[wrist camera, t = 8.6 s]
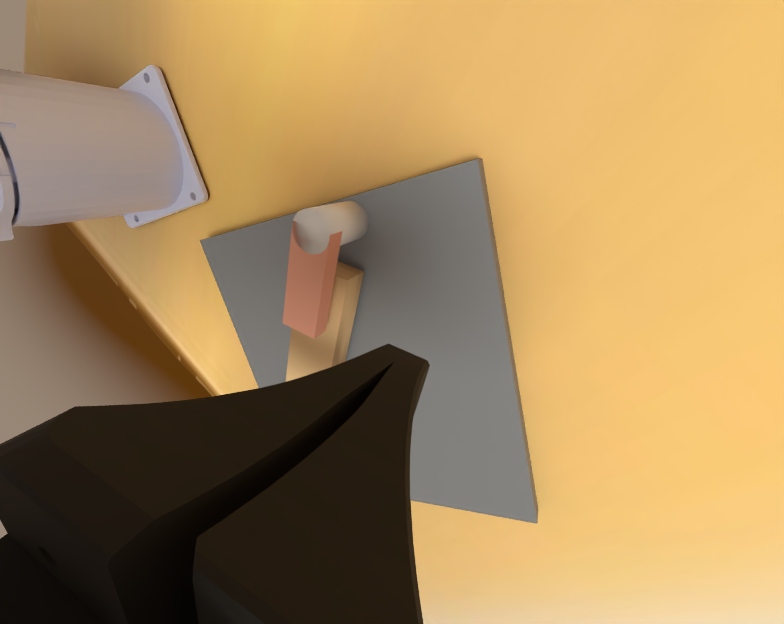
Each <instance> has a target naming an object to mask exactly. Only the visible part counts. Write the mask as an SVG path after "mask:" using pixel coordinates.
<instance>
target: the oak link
mask: <svg viewBox="0 0 784 624" xmlns="http://www.w3.org/2000/svg"><path fill="white" fill-rule="evenodd" d="M363 274H364V271H361V270H359V269H357V268H354V267H352V266H349V265H347V264H344V263H342V262H340V261H337V266H336V272H335V278H334V284H333V290H332V296H331V302H330V307H329V313H328V319H327V325H326V331H325V332H323V333H322V334H321V335H319V336H318V337H316V338H315V339H313V338H311V337H309V336H307V335H305V334H303V333H301V332H299V331H297V330H295V329H293V328H291V336H290V346H289V355H288V364H287V373H286V382H287V381H290V380H294V379H297V378H300V377H303V376H306V375H309V374H312V373H315V372H318V371H321V370H324V369H327V368H330V367H332V366H335V365H337V364H340V363H342V362H345V361H346V356H347V351H348V346H349V341H350V337H351V332H352V327H353V322H354V317H355V313H356V308H357V303H358V298H359V293H360V289H361V284H362V279H363Z"/></svg>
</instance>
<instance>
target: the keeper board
mask: <svg viewBox="0 0 784 624" xmlns="http://www.w3.org/2000/svg"><path fill="white" fill-rule="evenodd" d="M200 242H201V245H202V247H203V250H204V252H205V255H206V257H207V260H208V262H209V265H210V267H211V270H212V272H213V275H214V277H215V280H216V282H217V285H218V287H219V290H220V292H221V295H222V297H223V300H224V302H225V305H226V307H227V310H228V312H229V315H230V317H231V320H232V322H233V325H234V327H235V330H236V332H237V335H238V337H239V340H240V342H241V345H242V347H243V350H244V352H245V355H246V357H247V360H248V362H249V365H250V367H251V370H252V372H253V375H254V377H255V380H256V382H257V385H258V387H259V388H263V387H267V386H271V385H275V384H279V383H283V382H286V373H287V364H288V355H289V346H290V336H291V328H293V329H295V330H297V331H299V332H301V333H303V334H305V335H307V336H309V337H311V338H313V339H315V338H316V337H318V336H319V335H321V334H322V333H323V332H325V331H326V325H327V319H328V313H329V307H330V302H331V296H332V290H333V284H334V278H335V272H336V266H337V261H340V262H342V263H344V264H347V265H349V266H352V267H354V268H357V269H359V270H361V271H364V274H363V279H362V284H361V289H360V293H359V298H358V303H357V308H356V313H355V317H354V322H353V327H352V332H351V337H350V341H349V346H348V351H347V356H346V361H347V360H350V359H352V358H355V357H357V356H360V355H362V354H364V353H367V352H369V351H371V350H374V349H376V348H378V347H381V346H383V345H386V344H388V343H389V344H391V345H393V346H396V347H398V348H400V349H402V350H405V351H407V352H409V353H412V354H414V355H416V356H419V357H421V358H423V359H425V360H428V363H429V365H430V367H429V370H428V373H427V376H426V379H425V383H424V386H423V389H422V392H421V395H420V398H419V401H418V405H417V408H416V411H415V414H414V416H413V424H412V435H411V449H410V500H412V501H417V502H423V503H428V504H434V505H439V506H445V507H450V508H455V509H461V510H466V511H472V512H477V513H482V514H488V515H493V516H499V517H504V518H510V519H515V520H520V521H526V522H531V523H537V519H538V505H537V499H536V493H535V486H534V480H533V474H532V467H531V461H530V455H529V449H528V442H527V436H526V430H525V424H524V417H523V411H522V405H521V399H520V392H519V386H518V380H517V374H516V367H515V361H514V355H513V349H512V342H511V336H510V330H509V324H508V317H507V311H506V305H505V299H504V292H503V286H502V280H501V274H500V267H499V261H498V255H497V249H496V242H495V236H494V230H493V224H492V217H491V211H490V205H489V199H488V192H487V186H486V180H485V174H484V167H483V161H482V159H475V160H472V161H468V162H465V163H462V164H458V165H455V166H451V167H448V168H445V169H441V170H438V171H434V172H431V173H428V174H424V175H421V176H418V177H414V178H411V179H407V180H404V181H401V182H397V183H394V184H390V185H387V186H384V187H380V188H377V189H373V190H370V191H367V192H363V193H360V194H356V195H353V196H350V197H346V198H343V199H339V200H336V201H333V202H329V203H326V204H323V205H319V206H316V207H311V208H305V209H302V210H300V211H298V212H295V213H292V214H289V215H285V216H282V217H278V218H275V219H272V220H268V221H265V222H261V223H258V224H255V225H251V226H248V227H244V228H241V229H238V230H234V231H231V232H227V233H224V234H221V235H217V236H214V237H211V238H207V239H204V240H200Z"/></svg>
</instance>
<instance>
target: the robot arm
mask: <svg viewBox="0 0 784 624" xmlns="http://www.w3.org/2000/svg"><path fill="white" fill-rule="evenodd" d="M207 199H208V193H207V190H206V188H205V185H204V182H203V180H202V177H201V174H200V172H199V169H198V167H197V164H196V161H195V159H194V156H193V153H192V151H191V148H190V145H189V143H188V140H187V138H186V135H185V132H184V130H183V127H182V124H181V122H180V119H179V117H178V114H177V111H176V109H175V106H174V103H173V101H172V98H171V95H170V93H169V90H168V88H167V85H166V82H165V80H164V77H163V74H162V72H161V70H160V69H159V68H158V67H157V66H154V65H148V66H147V67H145V68H144V69H143V70H141V71H140V72H139V73H138V74H136V75H135V76H134V77H132V78H131V79H130V80H128V81H127V82H126V83H124V84H123V85H122V86H120V87H119V88H118V89H117V88H111V87H105V86H99V85H93V84H87V83H81V82H75V81H69V80H63V79H57V78H51V77H45V76H39V75H33V74H27V73H21V72H14V71H9V70H3V69H0V241H5V240H12V239H13V238H14V236H13V232H12V227H14V226H39V225H48V224H56V223H64V222H73V221H81V220H89V219H98V218H106V217H115V216H123V217H124V219H125V221H126V223H127V225H128V226H129V227H131V228H136V227H139V226H142V225H145V224H147V223H150V222H153V221H155V220H158V219H161V218H163V217H166V216H169V215H171V214H174V213H177V212H179V211H182V210H185V209H187V208H190V207H193V206H195V205H198V204H201V203H203V202H206V201H207ZM429 367H430V365H429V363H428V360H425V359H423V358H421V357H419V356H416V355H414V354H412V353H409V352H407V351H405V350H402V349H400V348H398V347H396V346H393V345H391V344H389V343H388V344H386V345H383V346H381V347H378V348H376V349H374V350H371V351H369V352H367V353H364V354H362V355H360V356H357V357H355V358H352V359H350V360H347V361H345V362H342V363H340V364H337V365H335V366H332V367H330V368H327V369H324V370H321V371H318V372H315V373H312V374H309V375H306V376H303V377H300V378H297V379H294V380H290V381H287V382H283V383H279V384H275V385H271V386H267V387H263V388H258V389H253V390H248V391H242V392H237V393H231V394H225V395H219V396H214V397H207V398H199V399H191V400H183V401H174V402H173V401H172V402H162V403H149V404H132V405H109V406H83V407H81V406H79V407H74V408H72V409H69V410H68V411H66V412H64V413H62V414H60V415H58V416H56V417H54V418H52V419H50V420H48V421H46V422H44V423H42V424H40V425H38V426H36V427H34V428H32V429H30V430H28V431H26V432H24V433H22V434H20V435H18V436H16V437H14V438H12V439H10V440H8V441H6V442H4V443H2V444H0V520H1V522H2V524H3V526H4V527H5V529H6V531H7V533H8V534H7V535H5V536H4V537H2V538H1V539H0V624H423V618H422V612H421V605H420V597H419V590H418V582H417V575H416V565H415V556H414V546H413V534H412V518H411V502H410V449H411V435H412V424H413V416H414V414H415V411H416V408H417V405H418V401H419V398H420V395H421V392H422V389H423V386H424V383H425V379H426V376H427V373H428V370H429Z"/></svg>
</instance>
